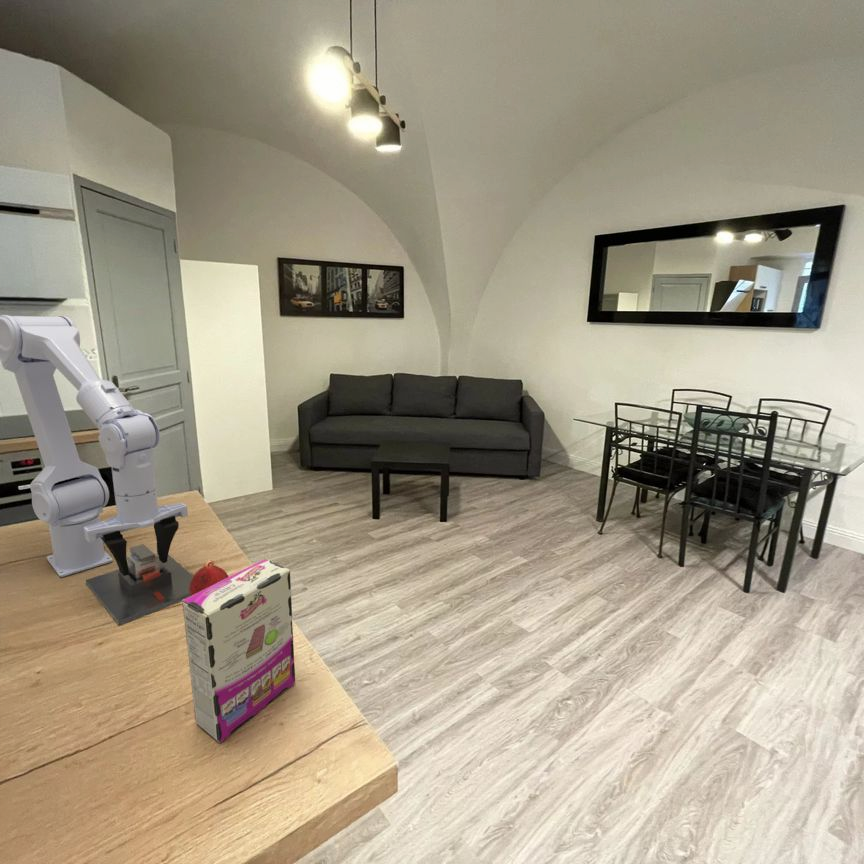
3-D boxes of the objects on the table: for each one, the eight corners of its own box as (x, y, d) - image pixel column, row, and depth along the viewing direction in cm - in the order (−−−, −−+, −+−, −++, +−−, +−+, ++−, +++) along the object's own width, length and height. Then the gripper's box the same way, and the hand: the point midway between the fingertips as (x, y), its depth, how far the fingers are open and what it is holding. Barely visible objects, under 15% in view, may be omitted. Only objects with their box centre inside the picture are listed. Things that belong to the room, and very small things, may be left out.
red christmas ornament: (216, 620, 73) (212, 573, 71) (183, 615, 74) (178, 568, 72) (238, 599, 79) (235, 555, 77) (207, 594, 80) (203, 550, 78)
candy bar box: (270, 667, 64) (265, 556, 60) (296, 683, 62) (293, 568, 58) (191, 725, 55) (179, 597, 51) (218, 746, 52) (208, 614, 49)
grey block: (127, 580, 81) (123, 549, 80) (152, 572, 84) (148, 542, 82) (139, 592, 78) (135, 560, 76) (164, 583, 81) (160, 552, 79)
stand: (86, 584, 81) (83, 564, 80) (167, 557, 91) (166, 539, 90) (119, 625, 71) (116, 603, 70) (206, 591, 81) (205, 570, 80)
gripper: (89, 509, 69) (101, 593, 72) (192, 485, 80) (198, 559, 83) (75, 496, 73) (87, 576, 77) (175, 475, 84) (181, 546, 87)
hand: (144, 566), depth 80 cm, fingers open, 5 cm apart
